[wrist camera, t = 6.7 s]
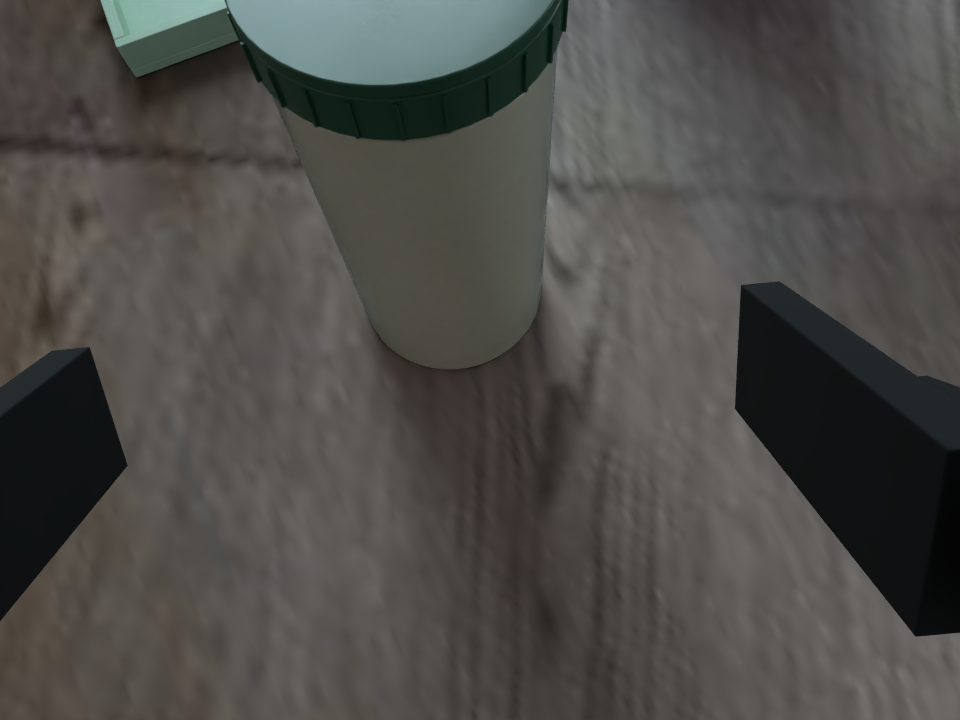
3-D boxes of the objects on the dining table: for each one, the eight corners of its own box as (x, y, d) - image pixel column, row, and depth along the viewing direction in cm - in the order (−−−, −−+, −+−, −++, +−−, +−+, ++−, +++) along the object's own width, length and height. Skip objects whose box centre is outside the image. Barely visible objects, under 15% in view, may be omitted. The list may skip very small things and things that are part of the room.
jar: (572, 325, 32) (622, 20, 17) (404, 399, 31) (295, 148, 16) (495, 189, 35) (478, -178, 20) (340, 253, 34) (194, -79, 19)
